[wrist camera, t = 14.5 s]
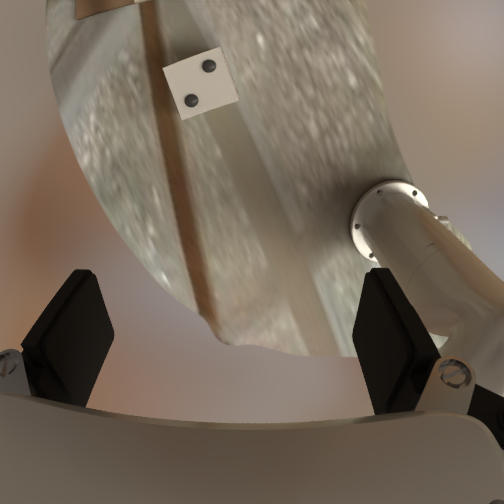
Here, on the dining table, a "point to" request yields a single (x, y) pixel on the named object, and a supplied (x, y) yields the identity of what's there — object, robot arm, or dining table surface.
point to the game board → (100, 6)
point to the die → (201, 83)
